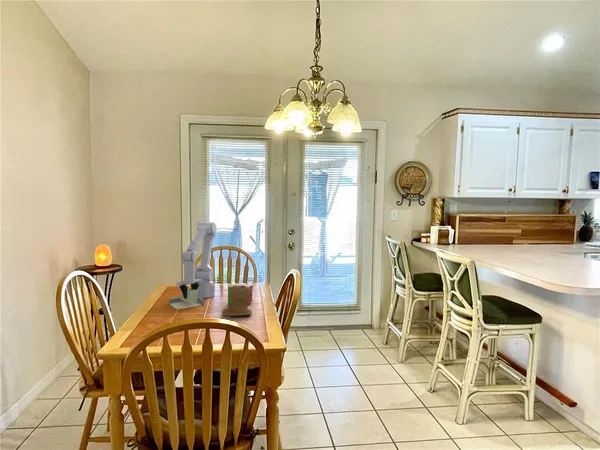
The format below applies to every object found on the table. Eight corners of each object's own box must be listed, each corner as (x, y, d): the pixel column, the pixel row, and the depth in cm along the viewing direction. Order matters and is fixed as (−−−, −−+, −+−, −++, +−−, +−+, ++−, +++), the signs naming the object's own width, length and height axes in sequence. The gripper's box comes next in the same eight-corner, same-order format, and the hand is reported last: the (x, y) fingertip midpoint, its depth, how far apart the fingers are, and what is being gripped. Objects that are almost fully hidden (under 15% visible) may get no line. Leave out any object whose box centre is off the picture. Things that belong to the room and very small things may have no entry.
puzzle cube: (252, 302, 219) (252, 285, 219) (242, 307, 210) (243, 289, 209) (237, 300, 224) (237, 283, 223) (227, 304, 214) (227, 286, 214)
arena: (194, 299, 221) (194, 294, 221) (203, 305, 212) (203, 299, 212) (168, 304, 212) (168, 298, 212) (176, 309, 203) (176, 304, 203)
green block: (197, 301, 211) (197, 290, 210) (190, 303, 207) (190, 292, 207) (188, 298, 217) (188, 287, 216) (181, 299, 213) (181, 288, 213)
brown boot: (250, 310, 205) (251, 282, 204) (252, 317, 193) (253, 288, 192) (221, 311, 202) (221, 283, 201) (221, 318, 190) (221, 288, 189)
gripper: (196, 270, 219) (196, 293, 220) (173, 273, 208) (173, 298, 209) (204, 272, 214) (203, 296, 215) (180, 275, 203) (180, 301, 204)
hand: (189, 297), depth 212 cm, fingers closed on green block, 4 cm apart
